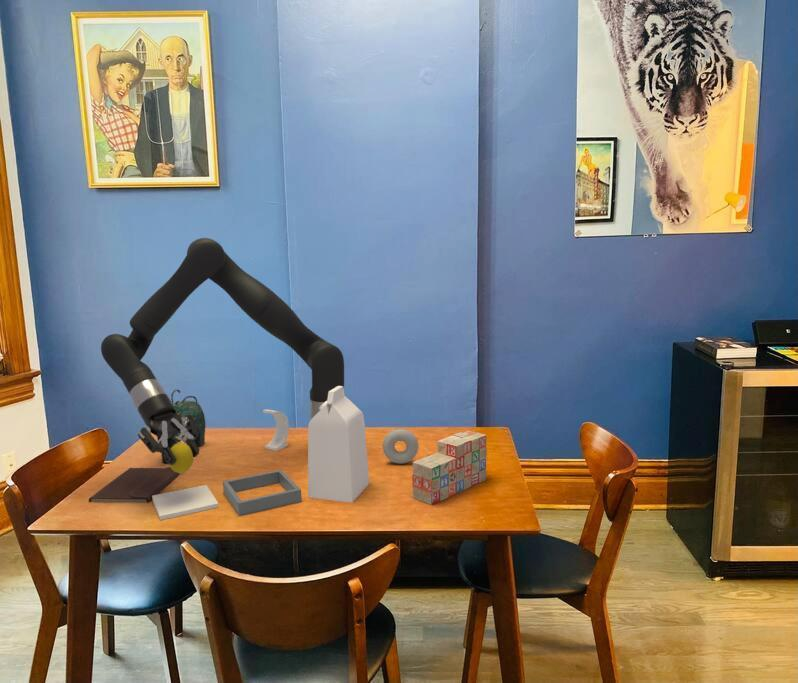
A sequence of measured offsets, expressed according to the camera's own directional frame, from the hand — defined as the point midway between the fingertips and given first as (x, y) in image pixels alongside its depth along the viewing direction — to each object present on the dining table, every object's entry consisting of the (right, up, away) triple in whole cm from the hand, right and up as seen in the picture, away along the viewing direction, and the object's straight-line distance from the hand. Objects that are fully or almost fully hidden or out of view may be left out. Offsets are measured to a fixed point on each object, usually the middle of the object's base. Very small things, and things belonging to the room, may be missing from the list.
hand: (185, 458), depth 144 cm
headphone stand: (+13, -5, +42) cm, 45 cm away
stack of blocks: (+63, -9, +9) cm, 64 cm away
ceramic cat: (-14, -6, +38) cm, 41 cm away
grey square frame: (+17, -10, +6) cm, 20 cm away
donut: (+51, -7, +27) cm, 58 cm away
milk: (+35, -10, +9) cm, 38 cm away
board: (-1, -11, +3) cm, 12 cm away
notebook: (-17, -10, +14) cm, 24 cm away
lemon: (-1, -4, +2) cm, 5 cm away
